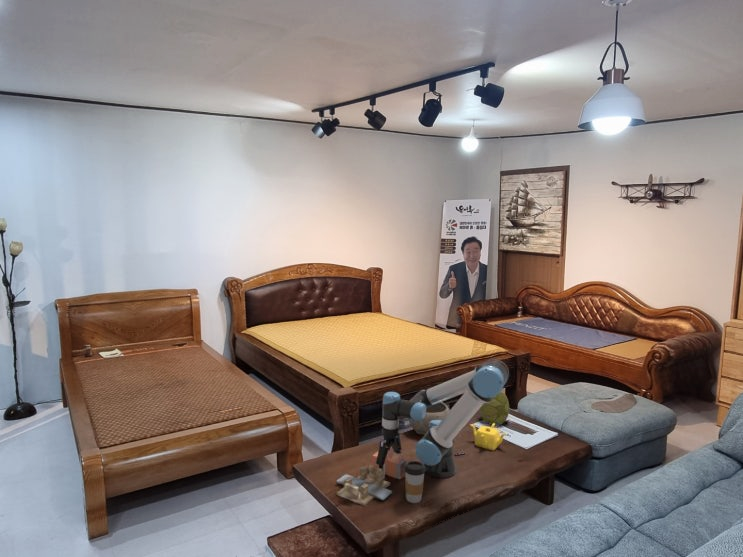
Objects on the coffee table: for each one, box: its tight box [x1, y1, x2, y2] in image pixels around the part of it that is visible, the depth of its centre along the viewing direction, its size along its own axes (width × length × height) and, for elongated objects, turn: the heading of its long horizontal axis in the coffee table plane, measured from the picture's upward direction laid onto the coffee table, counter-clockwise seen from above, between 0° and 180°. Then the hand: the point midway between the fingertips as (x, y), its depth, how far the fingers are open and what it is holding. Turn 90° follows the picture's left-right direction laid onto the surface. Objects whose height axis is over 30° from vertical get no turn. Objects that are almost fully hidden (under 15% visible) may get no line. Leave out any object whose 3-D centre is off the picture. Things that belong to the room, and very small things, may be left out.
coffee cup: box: [404, 460, 426, 504], centre depth 215 cm, size 8×8×15 cm
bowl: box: [407, 401, 451, 436], centre depth 281 cm, size 23×23×15 cm
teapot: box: [469, 423, 507, 451], centre depth 267 cm, size 15×14×10 cm
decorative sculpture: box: [479, 389, 510, 425], centre depth 297 cm, size 16×16×20 cm
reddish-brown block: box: [371, 451, 407, 480], centre depth 237 cm, size 5×15×7 cm, turn 57°
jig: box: [336, 464, 393, 506], centre depth 221 cm, size 24×20×6 cm
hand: (388, 471), depth 237 cm, fingers open, 11 cm apart
